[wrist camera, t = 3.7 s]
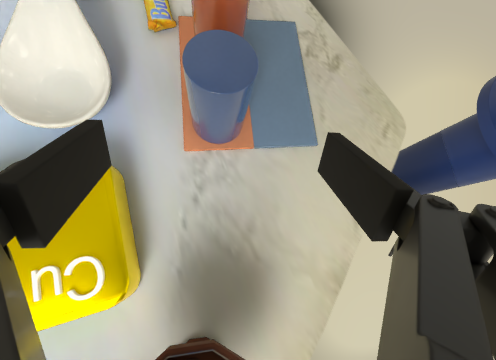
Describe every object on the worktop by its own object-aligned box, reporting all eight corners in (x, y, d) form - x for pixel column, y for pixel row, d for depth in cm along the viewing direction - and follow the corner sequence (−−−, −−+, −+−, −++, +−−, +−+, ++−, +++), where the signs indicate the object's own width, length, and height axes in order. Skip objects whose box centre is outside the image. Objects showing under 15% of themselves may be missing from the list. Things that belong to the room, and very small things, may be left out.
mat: (294, 24, 39) (295, 21, 38) (316, 145, 34) (317, 144, 33) (178, 18, 36) (178, 15, 35) (184, 151, 31) (184, 150, 30)
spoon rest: (120, 137, 30) (94, 106, 23) (12, 141, 28) (-53, 108, 21) (124, -11, 36) (104, -71, 29) (34, -17, 34) (-11, -83, 27)
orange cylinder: (239, 27, 36) (251, -61, 26) (244, 65, 35) (258, -12, 24) (193, 25, 35) (186, -68, 25) (196, 64, 34) (189, -17, 23)
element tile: (122, 164, 29) (105, 149, 25) (144, 292, 26) (130, 303, 21) (-25, 194, 26) (-76, 183, 21) (-19, 343, 23) (-76, 369, 18)
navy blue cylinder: (240, 97, 33) (254, 30, 23) (245, 143, 32) (263, 93, 21) (190, 97, 32) (180, 27, 22) (192, 145, 31) (183, 94, 20)
